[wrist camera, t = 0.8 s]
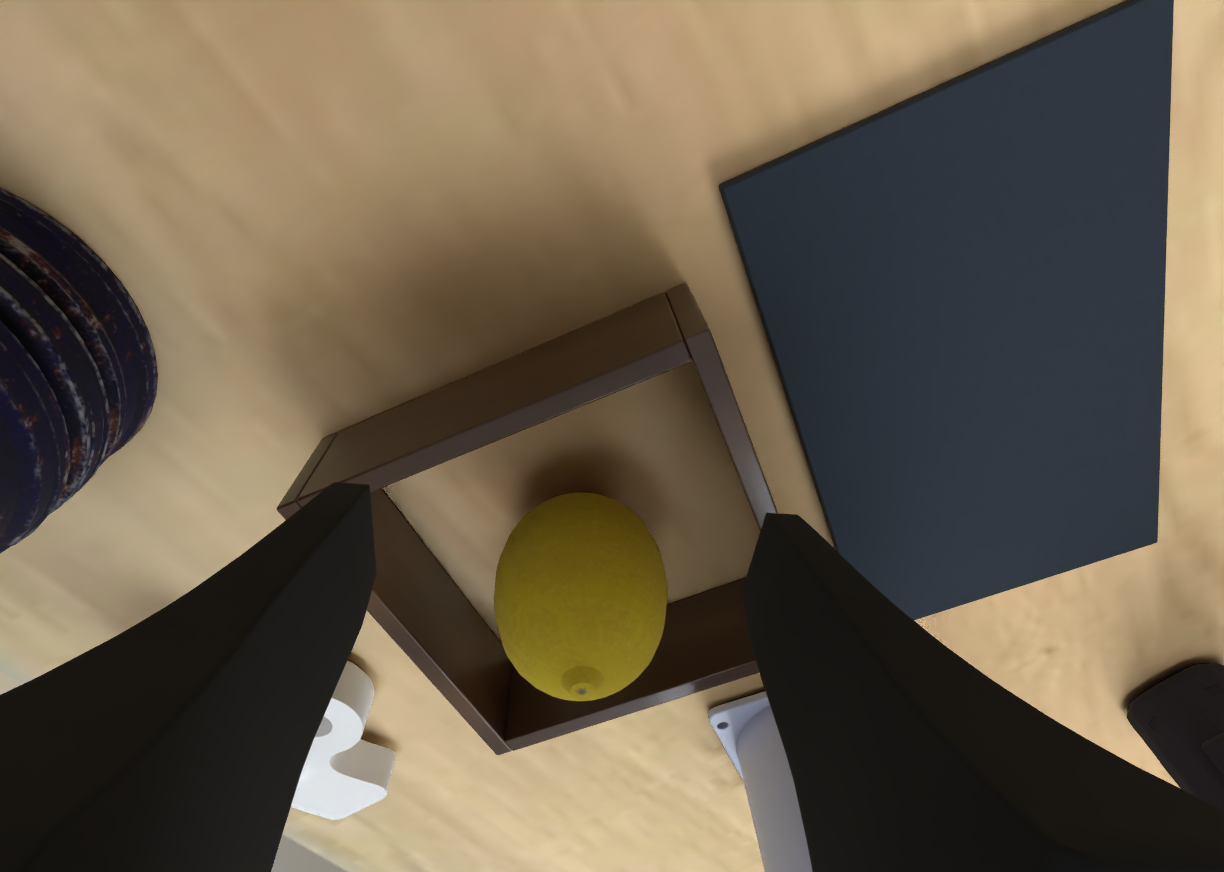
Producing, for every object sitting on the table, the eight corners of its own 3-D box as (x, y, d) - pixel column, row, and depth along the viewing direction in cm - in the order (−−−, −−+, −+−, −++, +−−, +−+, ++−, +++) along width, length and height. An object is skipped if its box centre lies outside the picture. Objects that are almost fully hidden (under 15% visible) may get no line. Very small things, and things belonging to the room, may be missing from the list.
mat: (1146, 533, 26) (1158, 542, 26) (859, 625, 28) (865, 636, 28) (1157, -14, 16) (1175, -17, 16) (717, 184, 18) (721, 188, 18)
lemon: (657, 449, 23) (692, 617, 16) (648, 566, 26) (675, 752, 19) (501, 450, 23) (470, 622, 16) (510, 568, 25) (486, 758, 19)
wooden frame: (795, 573, 26) (829, 650, 23) (506, 672, 28) (496, 756, 25) (686, 281, 20) (709, 328, 16) (321, 438, 22) (274, 509, 19)
